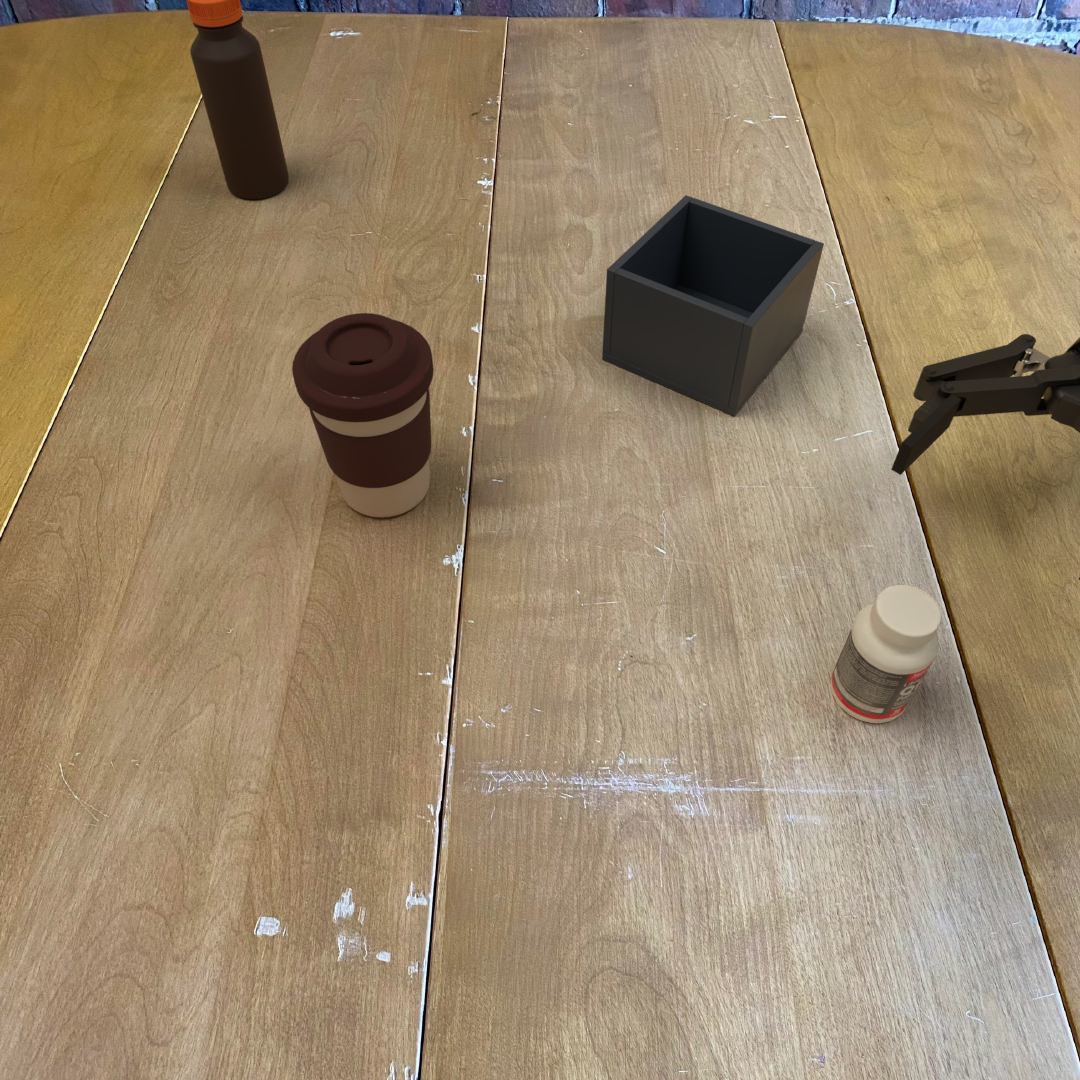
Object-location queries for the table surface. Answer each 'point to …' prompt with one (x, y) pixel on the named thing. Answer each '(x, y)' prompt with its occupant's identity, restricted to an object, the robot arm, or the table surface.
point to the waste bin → (708, 302)
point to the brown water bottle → (237, 99)
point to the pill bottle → (887, 654)
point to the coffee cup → (370, 409)
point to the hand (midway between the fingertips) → (992, 512)
